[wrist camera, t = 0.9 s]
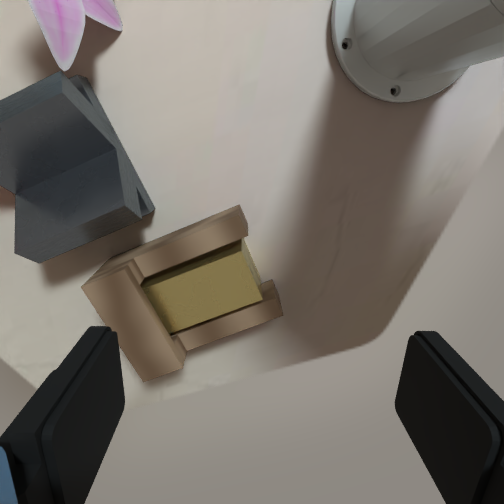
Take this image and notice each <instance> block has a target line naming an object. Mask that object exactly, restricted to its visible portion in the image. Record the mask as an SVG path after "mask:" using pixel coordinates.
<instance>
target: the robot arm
mask: <svg viewBox="0 0 504 504" xmlns="http://www.w3.org/2000/svg"><path fill="white" fill-rule="evenodd" d="M331 32H332V41H333V45H334V49H335V53H336V56H337V58H338V61H339V63H340V65H341V67H342V69H343V71H344V72H345V74H346V75H347V76H348V78H349V79H350V81H351V82H352V83H354V84H355V85H356V86H357V87H358V88H359V89H360V90H361V91H363V92H365V93H366V94H368V95H370V96H371V97H373V98H377V99H380V100H383V101H387V102H398V103H400V102H411V101H415V100H420V99H424V98H427V97H429V96H432V95H434V94H436V93H439V92H440V91H442V90H443V89H445V88H446V87H448V86H449V85H451V84H452V83H454V82H455V81H456V80H457V79H458V78H459V77H460V76H461V75H462V74H463V73H464V72H465V71H466V70H467V69H468V68H469V66H471V65H474V64H478V63H482V62H485V61H489V60H493V59H496V58H500V57H504V0H333V4H332V14H331ZM342 43H346V45H347V48H346V49H343V48H342ZM391 89H393V90H394V93H393V95H391V93H390V90H391ZM124 405H125V396H124V387H123V378H122V369H121V361H120V352H119V343H118V335H117V332H116V331H112V329H111V327H109V326H91V327H89V328H88V329H87V331H86V332H85V333H84V334H83V336H82V337H81V338H80V340H79V341H78V342H77V344H76V345H75V346H74V347H73V349H72V350H71V351H70V353H69V354H68V355H67V356H66V358H65V359H64V360H63V362H62V363H61V364H60V366H59V367H58V368H57V369H56V370H54V371H53V372H51V373H50V374H49V376H48V377H47V378H46V380H45V381H44V382H43V383H42V385H41V386H40V387H39V388H38V390H37V391H36V392H35V394H34V395H33V396H32V397H31V399H30V400H29V401H28V402H27V404H26V405H25V406H24V408H23V409H22V410H21V412H20V413H19V414H18V415H17V417H16V418H15V419H14V420H13V422H12V423H11V424H10V426H9V427H8V428H7V429H6V431H5V432H4V433H3V434H2V436H1V437H0V504H84V503H85V501H86V498H87V496H88V493H89V491H90V489H91V486H92V484H93V482H94V479H95V477H96V475H97V472H98V470H99V468H100V465H101V463H102V460H103V458H104V456H105V453H106V451H107V449H108V446H109V444H110V441H111V439H112V437H113V434H114V432H115V429H116V427H117V425H118V423H119V420H120V418H121V415H122V413H123V410H124ZM395 409H396V412H397V414H398V416H399V418H400V420H401V422H402V423H403V425H404V427H405V429H406V431H407V433H408V434H409V436H410V438H411V440H412V442H413V444H414V446H415V447H416V449H417V451H418V453H419V455H420V456H421V458H422V460H423V462H424V464H425V466H426V468H427V469H428V471H429V473H430V475H431V476H432V478H433V480H434V482H435V484H436V486H437V488H438V490H439V491H440V493H441V495H442V497H443V499H444V501H445V502H446V504H504V401H503V400H502V399H501V398H500V397H499V396H498V395H497V394H496V393H495V392H494V391H493V390H492V389H491V388H490V387H489V386H488V384H486V383H485V381H484V380H483V379H482V378H481V377H480V376H479V375H478V374H477V373H476V372H475V371H474V370H473V369H472V368H471V367H470V366H469V365H468V364H467V363H466V362H465V361H464V359H463V358H462V357H461V356H460V355H459V354H458V353H457V352H456V351H455V350H454V349H453V348H452V347H451V346H450V345H449V344H448V343H447V342H446V341H445V340H444V339H443V338H442V337H441V336H440V335H439V333H437V332H435V331H416V332H415V333H414V335H412V336H410V337H409V340H408V344H407V349H406V353H405V358H404V362H403V367H402V371H401V376H400V381H399V385H398V390H397V395H396V399H395Z"/></svg>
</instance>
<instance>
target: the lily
mask: <svg viewBox="0 0 504 504" xmlns="http://www.w3.org/2000/svg"><path fill="white" fill-rule="evenodd" d="M28 2H29V4H30V7H31V9H32V11H33V13H34V15H35V17H36V19H37V21H38V24H39V26H40V28H41V30H42V33H43V35H44V37H45V39H46V42H47V44H48V46H49V48H50V50H51V53H52V55H53V57H54V59H55V61H56V62H57V64H58V66H59V67H60V68H61V69H62V70H63V71H66V70H68V69H69V68H70V66H71V65H72V63H73V61H74V59H75V57H76V54H77V52H78V49H79V46H80V42H81V39H82V36H83V32H84V27H85V15H87V16H89V17H90V18H92V19H94V20H96V21H98V22H100V23H102V24H104V25H106V26H108V27H110V28H112V29H115V30H118V31H122V27H123V25H122V22H121V19H120V16H119V14H118V11H117V9H116V6H115V4H114V2H113V0H28Z"/></svg>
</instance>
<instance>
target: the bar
mask: <svg viewBox="0 0 504 504" xmlns="http://www.w3.org/2000/svg"><path fill="white" fill-rule="evenodd" d="M140 286H141V288H142V289H143V291H144V293H145V295H146V296H147V298H148V300H149V301H150V303H151V305H152V306H153V308H154V310H155V312H156V313H157V315H158V317H159V318H160V320H161V322H162V323H163V325H164V327H165V329H166V330H167V332H168V334H170V333H173V332H176V331H178V330H181V329H184V328H187V327H189V326H192V325H195V324H198V323H200V322H203V321H206V320H208V319H211V318H214V317H217V316H219V315H222V314H225V313H228V312H230V311H233V310H236V309H238V308H241V307H244V306H247V305H249V304H252V303H255V302H258V301H260V300H263V297H262V288H261V279H260V275H259V273H258V271H257V269H256V266H255V264H254V262H253V259H252V257H251V255H250V252H249V250H248V248H247V245H246V243H245V241H244V238H241V239H239V240H236V241H234V242H231V243H229V244H226V245H224V246H221V247H219V248H216V249H214V250H212V251H209V252H207V253H204V254H202V255H199V256H197V257H194V258H192V259H189V260H187V261H184V262H182V263H179V264H177V265H174V266H172V267H169V268H167V269H164V270H162V271H159V272H157V273H154V274H152V275H150V276H147V277H145V278H144V279H143V281H142V282H141V284H140Z"/></svg>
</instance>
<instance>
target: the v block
mask: <svg viewBox="0 0 504 504" xmlns="http://www.w3.org/2000/svg"><path fill="white" fill-rule="evenodd" d="M0 186H2V187H4V188H6V189H7V190H9V191H11V192H12V193H14V194H16V196H15V252H14V253H15V254H18V255H20V256H22V257H25V258H27V259H30V260H32V261H34V262H37V263H41V262H43V261H46V260H48V259H50V258H53V257H55V256H58V255H60V254H62V253H65V252H67V251H69V250H72V249H74V248H76V247H79V246H81V245H83V244H86V243H88V242H90V241H93V240H95V239H97V238H100V237H102V236H105V235H107V234H109V233H112V232H114V231H116V230H119V229H121V228H123V227H126V226H128V225H130V224H133V223H135V222H137V221H140V220H142V216H144V215H147V214H149V213H151V212H152V211H153V210H154V209H155V207H154V205H153V203H152V201H151V199H150V197H149V196H148V194H147V192H146V190H145V188H144V186H143V184H142V182H141V180H140V178H139V176H138V175H137V173H136V171H135V169H134V167H133V165H132V163H131V161H130V159H129V157H128V156H127V154H126V152H125V150H124V148H123V146H122V144H121V142H120V140H119V138H118V136H117V135H116V133H115V131H114V129H113V127H112V125H111V123H110V121H109V119H108V117H107V115H106V114H105V112H104V110H103V108H102V106H101V104H100V102H99V100H98V98H97V96H96V95H95V93H94V91H93V89H92V87H91V85H90V83H89V81H88V79H87V78H86V77H83V76H79V75H75V76H73V77H71V78H69V79H68V78H67V77H66V76H65V75H64V73H63V72H62V71H59V72H57V73H55V74H53V75H51V76H49V77H47V78H45V79H43V80H41V81H39V82H37V83H35V84H33V85H31V86H29V87H27V88H25V89H23V90H21V91H18V92H16V93H14V94H12V95H10V96H8V97H6V98H4V99H2V100H0Z"/></svg>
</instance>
